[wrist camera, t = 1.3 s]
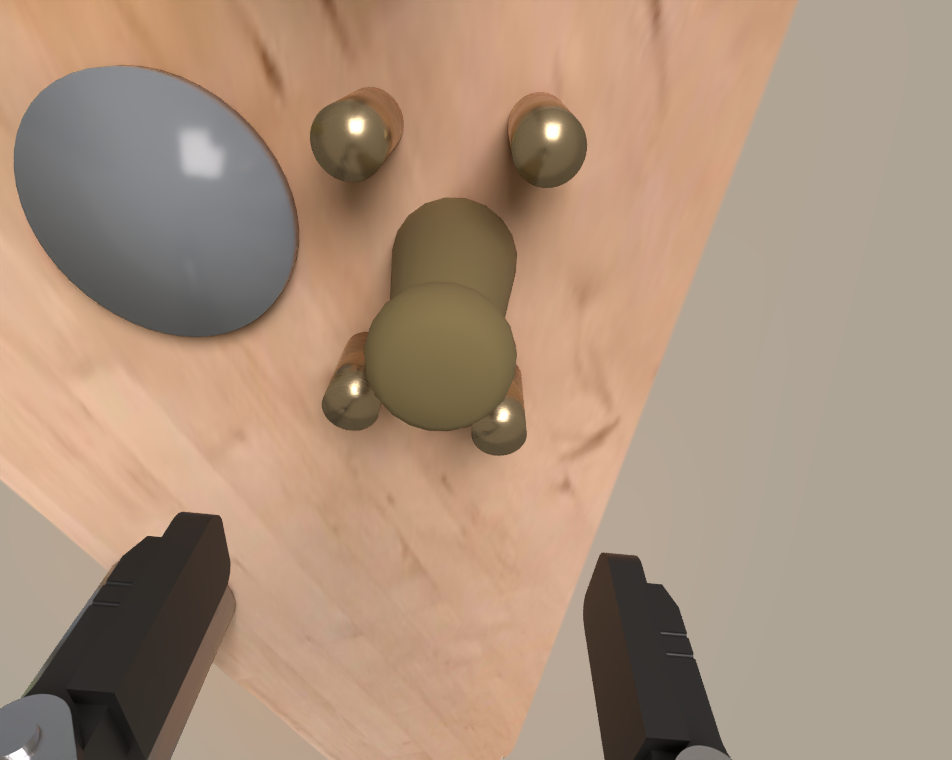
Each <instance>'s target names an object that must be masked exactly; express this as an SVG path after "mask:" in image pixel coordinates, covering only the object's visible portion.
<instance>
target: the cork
mask: <svg viewBox="0 0 952 760" xmlns="http://www.w3.org/2000/svg"><path fill="white" fill-rule="evenodd" d="M516 260H517V252H516V248H515V244H514V240H513V236H512V234H511V233H510V231H509V229H508V228H507V226H506V225H505V223H504V222H503V220H502V219H501V218H500V217H499V216H498V215H496V214H495V213H494V212H493V211H491V210H490V209H489V208H488V207H486V206H485V205H482V204H479V203H477V202H474V201H471V200H469V199H466V198H442V199H439V200H435V201H432V202H429V203H425V204H424V205H422V206H421V207H420V208H418V209H417V210H415V211H414V212H413V213H411V214H410V215H409V216H408V217H407V219H406V220H405V221H404V223H403V224H402V226H401V227H400V228H399V230H398V232H397V235H396V239H395V242H394V246H393V251H392V272H391V294H390V301H389V302H387V303H386V304H385V305H384V307H383V308H382V309H381V311H380V312H379V313H378V315H377V316H376V317H375V319H374V320H373V322H372V324H371V327H370V329H369V333H368V336H367V340H366V343H365V347H364V356H365V367H366V377H367V380H368V382H369V384H370V386H371V388H372V390H373V392H374V395H375V396H376V397H377V398H378V400H379V401H380V402H381V403H382V404H383V405H384V406H385V407H386V408H387V409H388V410H389V411H390V412H391V413H392V415H394V416H396V417H397V418H399V419H401V420H402V421H404V422H406V423H407V424H409V425H412V426H415V427H418V428H422V429H425V430H430V431H451V430H456V429H460V428H465V427H468V426H470V425H472V424H474V423H476V422H478V421H480V420H481V419H483V418H485V417H487V416H488V415H490V414H491V413H492V412H493V411H494V410H495V409H496V408H497V407H498V406H499V405H500V404H501V403H502V402H503V401H504V399H505V396H506V394H507V392H508V390H509V388H510V386H511V384H512V381H513V379H514V376H515V370H516V357H517V352H516V345H515V342H514V338H513V335H512V331H511V328H510V325H509V324H508V322H507V321H506V319H505V315H506V310H507V306H508V302H509V298H510V294H511V290H512V285H513V281H514V277H515V273H516Z"/></svg>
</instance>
